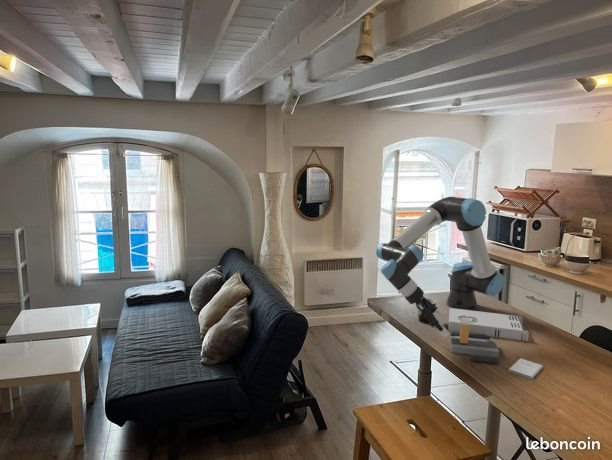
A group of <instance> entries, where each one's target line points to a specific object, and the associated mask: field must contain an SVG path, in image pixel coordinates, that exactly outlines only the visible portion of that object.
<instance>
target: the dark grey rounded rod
mask: <svg viewBox="0 0 612 460" xmlns="http://www.w3.org/2000/svg"><path fill="white" fill-rule="evenodd" d="M450 336H458V337H460V332H454V331H450ZM469 338H475V339H485V340H487V339H488V340H491V336H489V335H484V334H474V333H469Z"/></svg>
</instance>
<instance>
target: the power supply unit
mask: <svg viewBox="0 0 612 460" xmlns="http://www.w3.org/2000/svg"><path fill="white" fill-rule="evenodd" d="M461 318H462V319H469V322H470V325H469V333H474V334H484V335H489V336H490V337H493V338H494V337H495V338H501V339H509V340H515V341H525V342H528V341H529V334H530V332H529V331H528V330H525V328H524V326H523V323H524V322H523V320H524V319H523V318H524V317H523V316H522V315H514V314H513V315H512V314H507V313H506V314H504V313H496V312H487V311H480V310H479V311H477V310H463V309H455V308H452V307H449V313H448V329H447V330H448V332H452V331H454V332H460V324H461Z"/></svg>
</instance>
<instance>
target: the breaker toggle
mask: <svg viewBox="0 0 612 460" xmlns="http://www.w3.org/2000/svg"><path fill="white" fill-rule="evenodd" d="M469 325H470V322H469V319H462V318H461V324H460V338H459V339H460V343H466V344H468V338H469Z"/></svg>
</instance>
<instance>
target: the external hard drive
mask: <svg viewBox="0 0 612 460" xmlns="http://www.w3.org/2000/svg"><path fill="white" fill-rule="evenodd" d="M542 369H543V365H542V364H539V363H536V362H533V361H530V360H528V359H524V358H519V359H518V360H517V361H516V362H515V363H514V364H513V365H512V366H510V367H509V368H508V369H507V371H508V373H512V374H514V375H518V376H521V377H523V378H526V379H528V380H533V379H534V378H535V376H536V375H537V374H539V372H540V371H541V370H542Z"/></svg>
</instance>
